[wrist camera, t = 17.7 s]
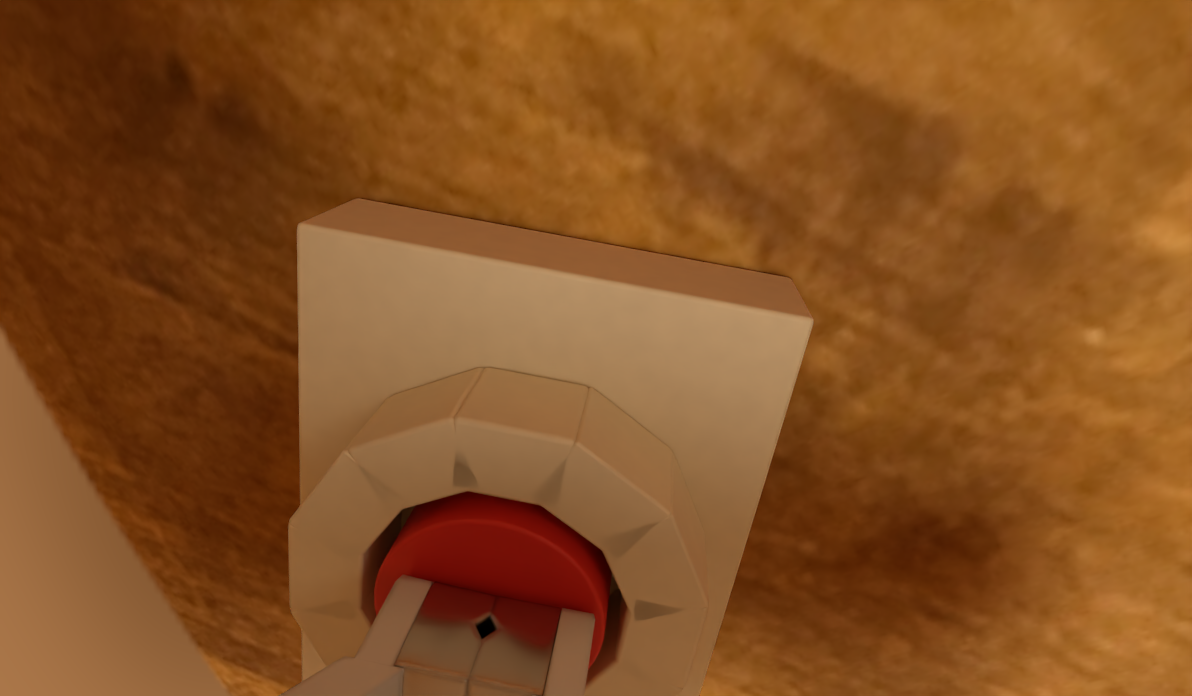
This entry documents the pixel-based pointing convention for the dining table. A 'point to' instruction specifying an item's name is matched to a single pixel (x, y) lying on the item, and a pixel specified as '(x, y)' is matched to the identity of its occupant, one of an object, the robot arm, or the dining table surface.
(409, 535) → the button
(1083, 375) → the dining table surface
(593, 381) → the button box
